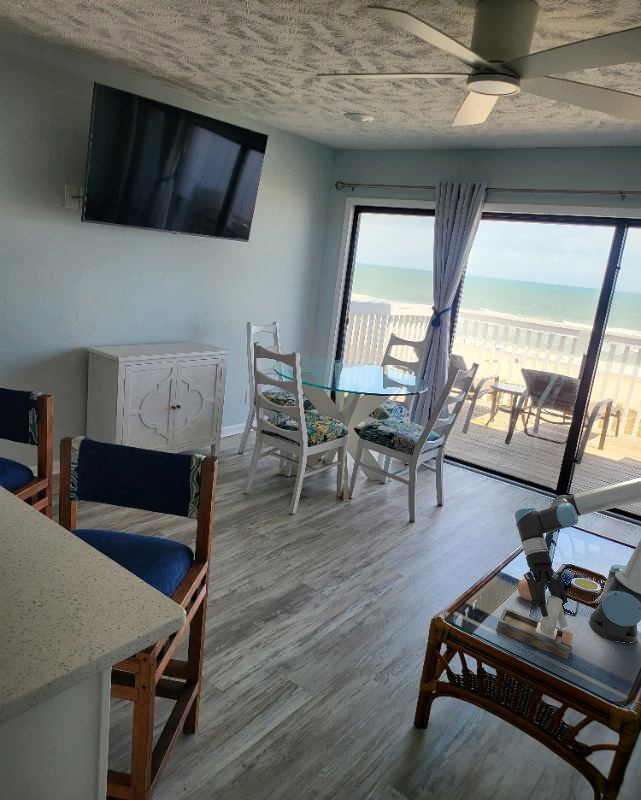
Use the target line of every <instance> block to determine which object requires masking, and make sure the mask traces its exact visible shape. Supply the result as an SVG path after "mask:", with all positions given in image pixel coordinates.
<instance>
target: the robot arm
mask: <svg viewBox="0 0 641 800" xmlns="http://www.w3.org/2000/svg"><path fill="white" fill-rule="evenodd" d="M640 502H641V477H637V478H634V479H629V480H626V481H625V480H624V481H622V482H617V483H613V484H609V485H605V486H602V487H598V488H594V489H590V490H585V491H581V492H578V493H574V494H570V495H566V494H562V495H561V494H560V495H559V496H557V497H556V498H554V499H553V500H552V503H551V505H550V506H549V507H548V508H545V509H542V510H538V511H537V509H536V508H535V507H533V506H526V507H522V508H520V509H517V510H516V511H515V512H514V517H515V522H516V523H515V524H516V527H517V530H518V534H519V537H520V541H521V545H522V549H523V553H524V555H525V556H526V557H525V560H526V564H527V566H528V568H529V571H528V572H526V573H524V574H523V578H525V579H526V581H527V584H528V587H529V591H530V594H531V598H532V600H531V602H532V604H533V605H534V606H535V605H536V607H537V608H539V610H540V613H541V616H542V617H544V619H545V623H546V626H547V629H548V628H552V627H555V626H554V623H553V619H552V616H551V612H550V608H549V605H546V603H547V600H546V599H547V598H546V592H545V591H546V589H545V586H546V587H547V589H548V591H549V594H550V596H556V597H558V598H560V599H561V600H562V601H563V603H562V606H561V610H560V613H559V617H558V620H557V623H558V624H559V625H558V626H559V628H560V629H564V628H566V627H567V628H568V622H567V619H566V614H567V613H565V610H564V606H563V605H564V604H565V603H567V602H568V601H567V597H566V594H567V593H566V591H565V587H564V583H563V580H562V573H561V572H560V571H558V572H556V571H554V569H553V567H552V559H551V556H550V553H549V552H548V551H549V549H548V546H547V542H546V539H545V536H544V534H548V533H552V532H555V531H559V530H563V529H566V528H570V527H572V526H575V525H578V523H579V517H581V516H586V515H589V514H594V513H598V512H602V511H606V510H610V509H615V508H618V507H623V506H628V505H632V504H636V503H640ZM534 579H535V580H534ZM603 589H604V590H603V593H602V596H601V599H600V603H599V604H598V606H597V607H596V608H595V609H594V610H593V612H592V613H591V615H590V617H589V619H588V623H589V627H591V628H592V630H593V631H595V632H596V633H597V634H598V635H601V636H602V637H604V638H606V639H609V640H611V641H614V642H616V641H618V642H617V643H620V642H625V643H624V644H627V643H629V644H631V643H630V642H634V641H635V640H636V641H637V638H638V632H639V631H638V624H639V623H640V622H641V539H640V540H639V542H638V543H637V545H636V547H635V549H634V551H633V552H632V553H631V556H630V557H629V560H628V561H627V564H626V565H621V564H612V565H611V566H610V570H608V576H607V579H606V583H605V586H604V588H603ZM636 641H635V642H636ZM635 642H634V643H635Z"/></svg>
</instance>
